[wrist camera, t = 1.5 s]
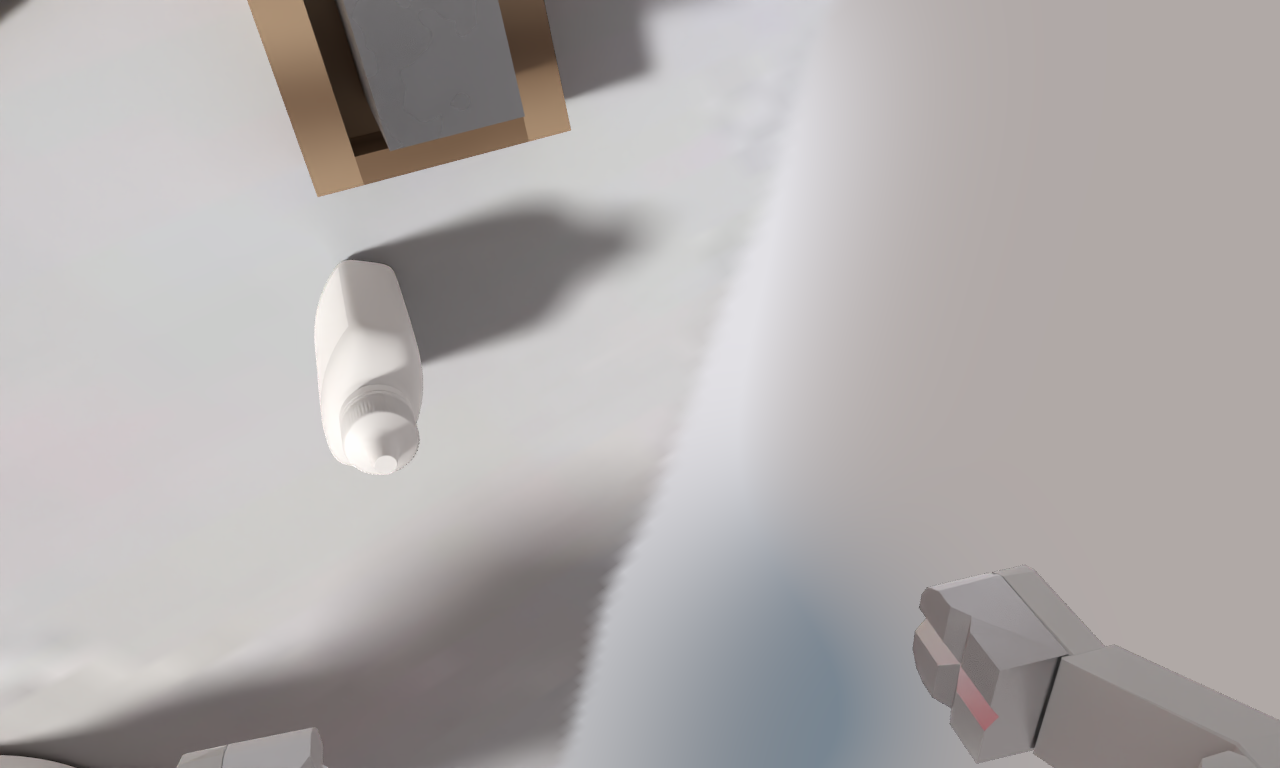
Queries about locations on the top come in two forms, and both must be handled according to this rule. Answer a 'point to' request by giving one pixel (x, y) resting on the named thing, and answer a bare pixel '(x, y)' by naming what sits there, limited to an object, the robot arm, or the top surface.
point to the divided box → (341, 118)
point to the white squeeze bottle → (367, 368)
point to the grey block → (431, 66)
